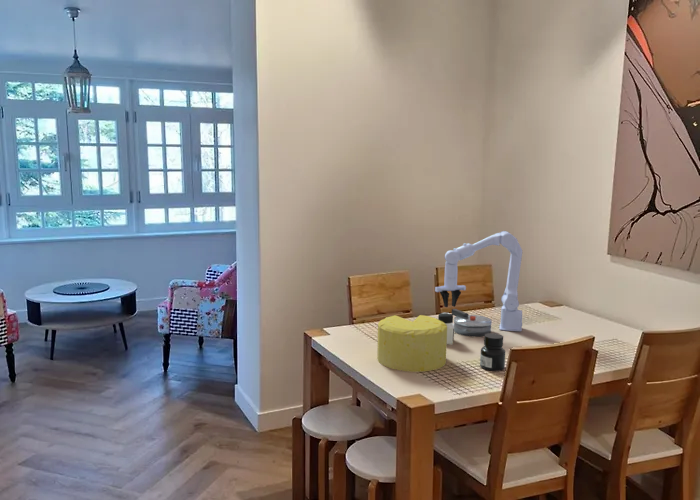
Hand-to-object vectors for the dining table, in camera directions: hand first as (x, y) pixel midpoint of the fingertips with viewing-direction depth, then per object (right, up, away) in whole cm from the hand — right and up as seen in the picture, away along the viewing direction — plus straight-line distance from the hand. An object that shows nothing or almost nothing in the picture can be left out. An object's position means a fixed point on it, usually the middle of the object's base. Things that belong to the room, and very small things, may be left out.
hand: (449, 306), depth 273 cm
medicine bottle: (-6, -13, -21) cm, 25 cm away
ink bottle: (+7, -18, -51) cm, 55 cm away
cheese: (-22, -16, -44) cm, 52 cm away
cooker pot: (+9, -10, -4) cm, 14 cm away
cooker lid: (+8, -6, -4) cm, 11 cm away
